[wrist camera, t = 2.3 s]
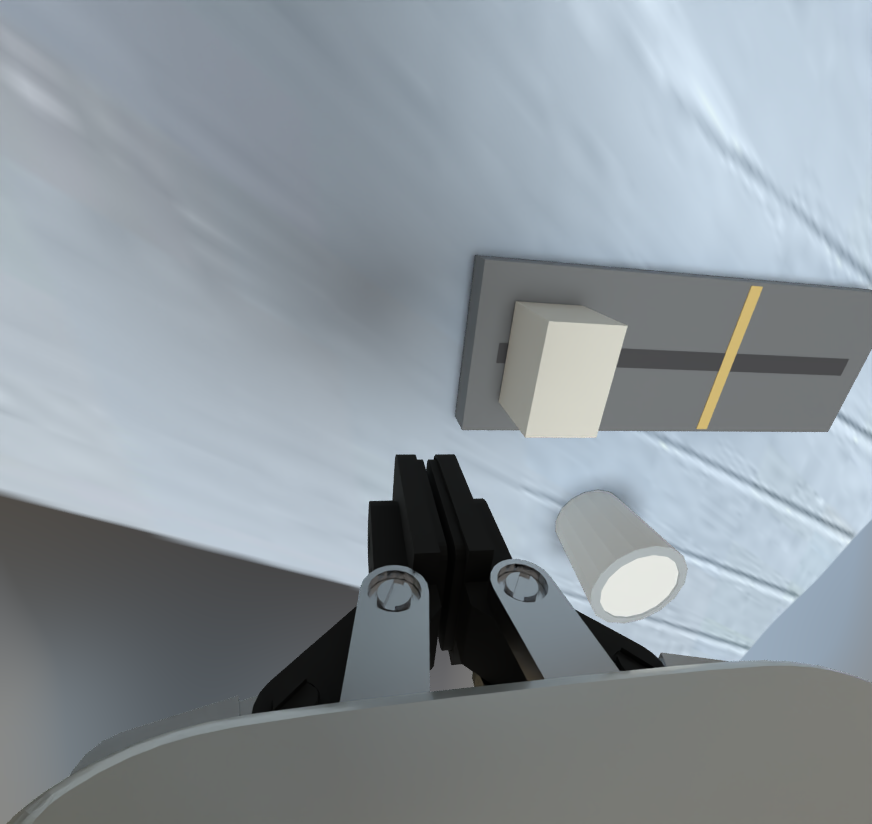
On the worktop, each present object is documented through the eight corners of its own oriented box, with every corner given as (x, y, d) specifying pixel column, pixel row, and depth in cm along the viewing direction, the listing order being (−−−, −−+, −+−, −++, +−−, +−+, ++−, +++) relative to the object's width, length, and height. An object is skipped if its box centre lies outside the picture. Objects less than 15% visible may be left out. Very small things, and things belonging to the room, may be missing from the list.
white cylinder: (580, 471, 33) (634, 535, 26) (645, 498, 35) (709, 563, 29) (531, 539, 35) (570, 613, 29) (595, 561, 37) (644, 633, 31)
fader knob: (498, 401, 26) (525, 437, 22) (515, 301, 24) (548, 321, 20) (560, 402, 27) (596, 437, 23) (582, 305, 25) (627, 326, 21)
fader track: (455, 415, 29) (462, 430, 27) (475, 255, 25) (485, 259, 23) (803, 419, 34) (828, 432, 32) (867, 289, 30) (901, 295, 28)
